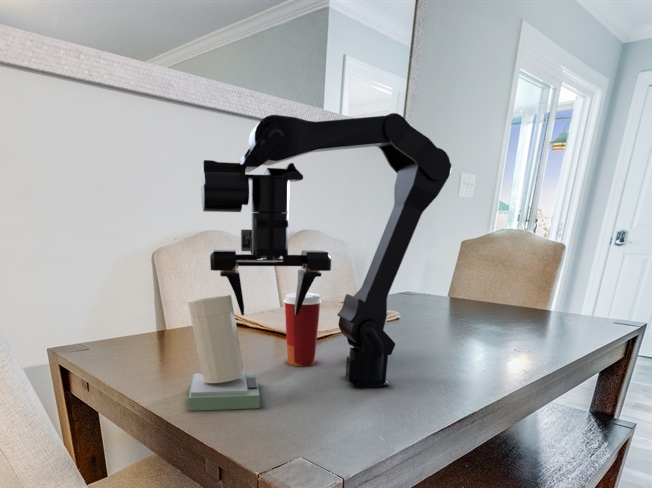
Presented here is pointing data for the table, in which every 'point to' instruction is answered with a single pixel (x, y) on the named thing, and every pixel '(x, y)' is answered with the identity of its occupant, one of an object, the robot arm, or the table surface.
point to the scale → (224, 394)
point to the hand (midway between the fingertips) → (269, 314)
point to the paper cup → (302, 329)
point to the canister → (216, 339)
